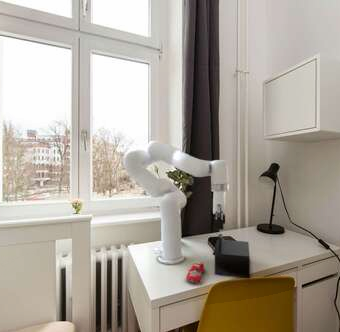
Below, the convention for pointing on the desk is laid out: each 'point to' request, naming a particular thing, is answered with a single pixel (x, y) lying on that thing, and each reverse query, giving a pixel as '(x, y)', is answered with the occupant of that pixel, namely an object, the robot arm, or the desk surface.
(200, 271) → the race car
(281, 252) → the desk surface
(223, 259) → the bin
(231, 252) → the bin lid
